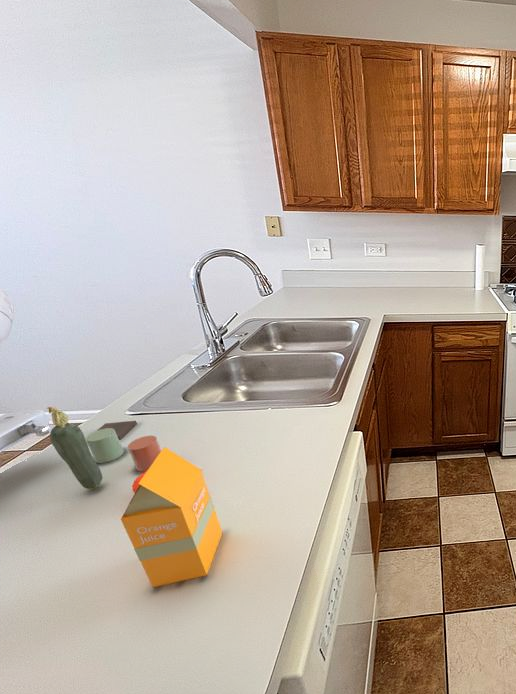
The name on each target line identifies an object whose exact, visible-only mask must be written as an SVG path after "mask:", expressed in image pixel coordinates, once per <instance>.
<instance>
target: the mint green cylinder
mask: <svg viewBox="0 0 516 694" xmlns="http://www.w3.org/2000/svg"><path fill="white" fill-rule="evenodd" d="M97 430H98V429H97ZM97 430H96V431H93V432H91V433H89V434H88V435H87V436H86V437H85V440H86V442H87V445H88V448H89V451H90V453H91V455H92V457H93V459H94V461H95V462H96V464H104V463H109V462H113V461H114V460H116V459H119V458H120V457H121V456H122V455H123V454H124V453H125V450H124V448H123V446H122V444H121V441H120V440H119V439H118V436H117V434H116V432H115V430H114V429H113V428H106V429H101V430H98V431H97Z"/></svg>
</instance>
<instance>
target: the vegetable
mask: <svg viewBox="0 0 516 694" xmlns="http://www.w3.org/2000/svg"><path fill="white" fill-rule="evenodd" d="M47 409H48V414H50V415H51V419H52V420H51V421H52V423H53V425H54V427H52V429H51V432H50V433H49V439H50V442H51V444H52V446H53V448H54V449H55V451H56V453H57V454H58V455H59V457H60V458H61V459H62V460H63V461H64V462H65V463H66V464H67V466H68V468H69V469H70V470H71V473H72V474H73V476H74V477H75V479H76V480H77V481H78V483H79V484H80V485H81V486H82V487H83V488H84V489H87V490H95V489H96V488H97V487H98V486H100V485H101V482H102V481H103V474H102V471H101V469H100V467H99V465H98V463H97V462H96V461H95V459H94V457H93V455H92V453H91V451H90V449H89V446H88V444H87V442H86V440H85V438H86V437H85V435H84V432H83V430H82V429H81V427H79V426H78V425H77V424H75V423H74V422H73V423H72V422H69V419H70V418H69V415H67V414H66V413H65V412H63V411H62V410H59V409H58V408H57V407H56V406H47V408H46V410H47Z"/></svg>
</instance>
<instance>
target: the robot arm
mask: <svg viewBox="0 0 516 694" xmlns="http://www.w3.org/2000/svg"><path fill="white" fill-rule="evenodd" d="M14 314H15V313H14V303H13V298H12V297H11V296H10V294H9V293H7V292H6V291H5V290H3V289H1V288H0V346H2V345H4V343H5V342H6V341H7V340H8V338H9V336H10V334H11V332H12V327H13V323H14ZM51 430H52V429H51V427H50V420H49V417H48V415H47V413H46V412H45V411H44V410H42V409H30V410H29V409H27V410H17V411H11V412H7V413H5V414H2V415H0V454H1V453H2V452H4V451H6V450H8V449H9V448H11V447H13V446H15V445H16V444H18V443H20V442H22V441H23V440H25V439H27V438H28V437H30V436H32V435H34V434H35V435H36V437H44V436H46V435H48V434H50V433H51ZM1 462H2V459H1V458H0V463H1Z"/></svg>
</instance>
